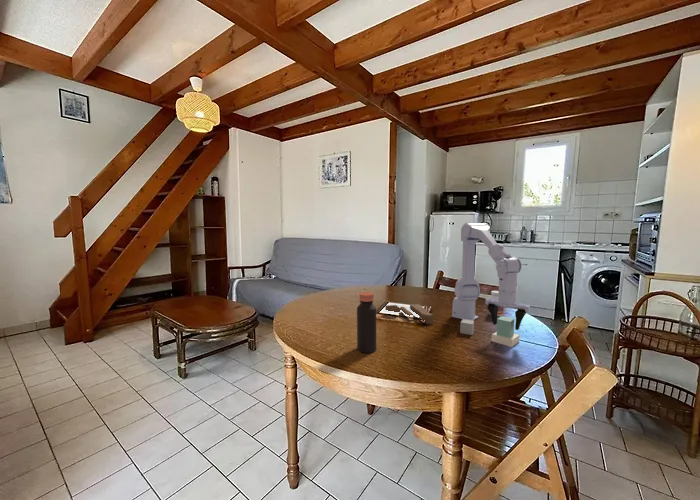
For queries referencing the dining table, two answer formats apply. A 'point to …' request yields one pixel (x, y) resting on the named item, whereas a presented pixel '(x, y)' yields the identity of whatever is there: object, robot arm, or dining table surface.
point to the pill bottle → (500, 309)
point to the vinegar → (366, 323)
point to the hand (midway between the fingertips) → (505, 326)
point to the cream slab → (506, 339)
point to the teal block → (505, 326)
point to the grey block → (467, 326)
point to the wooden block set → (415, 308)
